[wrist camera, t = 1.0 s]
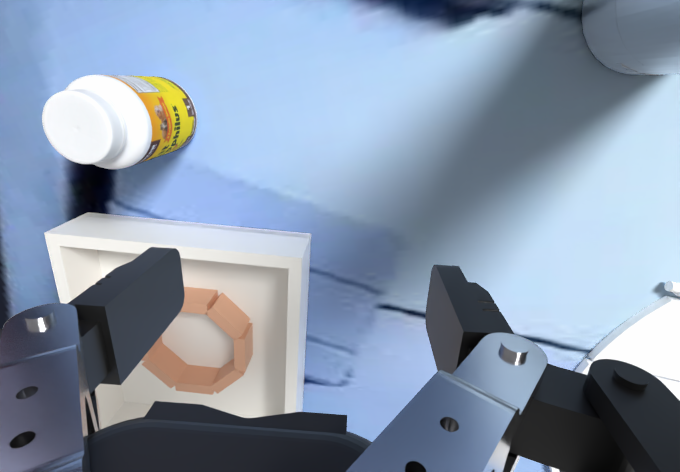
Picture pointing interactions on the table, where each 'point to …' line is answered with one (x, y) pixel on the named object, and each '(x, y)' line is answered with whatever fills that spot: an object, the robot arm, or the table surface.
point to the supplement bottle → (119, 119)
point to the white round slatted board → (646, 342)
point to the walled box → (202, 312)
